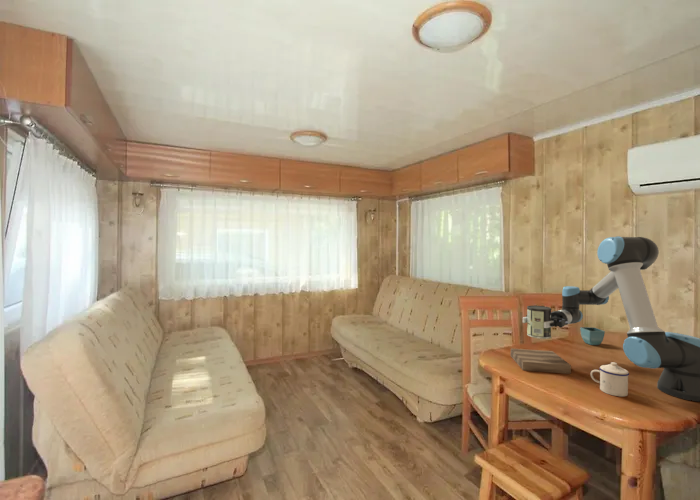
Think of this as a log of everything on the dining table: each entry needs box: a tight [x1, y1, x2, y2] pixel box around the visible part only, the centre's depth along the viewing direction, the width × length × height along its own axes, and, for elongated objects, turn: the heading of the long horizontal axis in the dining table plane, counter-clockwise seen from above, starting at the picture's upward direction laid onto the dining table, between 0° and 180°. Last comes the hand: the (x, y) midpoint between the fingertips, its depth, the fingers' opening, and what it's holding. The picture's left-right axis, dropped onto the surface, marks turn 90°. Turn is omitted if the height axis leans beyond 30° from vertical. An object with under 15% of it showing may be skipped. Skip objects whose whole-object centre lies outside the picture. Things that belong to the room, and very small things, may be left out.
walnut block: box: [510, 348, 572, 375], centre depth 159 cm, size 20×20×4 cm
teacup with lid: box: [590, 361, 630, 398], centre depth 130 cm, size 12×9×12 cm
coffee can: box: [526, 305, 552, 340], centre depth 159 cm, size 10×10×14 cm
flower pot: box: [580, 326, 606, 346], centre depth 193 cm, size 9×9×9 cm
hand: (533, 322), depth 157 cm, fingers closed on coffee can, 10 cm apart
